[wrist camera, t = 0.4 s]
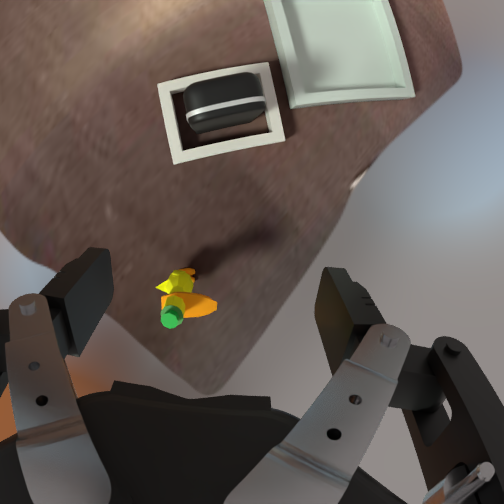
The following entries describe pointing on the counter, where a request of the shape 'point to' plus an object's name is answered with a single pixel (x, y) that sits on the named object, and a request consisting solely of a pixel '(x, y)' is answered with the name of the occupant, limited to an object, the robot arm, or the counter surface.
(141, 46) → the counter surface
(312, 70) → the tray
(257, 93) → the battery charger
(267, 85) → the white rectangular frame
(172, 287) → the toy figure
